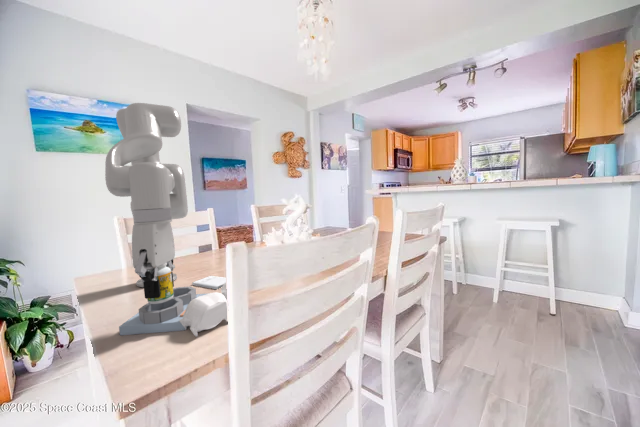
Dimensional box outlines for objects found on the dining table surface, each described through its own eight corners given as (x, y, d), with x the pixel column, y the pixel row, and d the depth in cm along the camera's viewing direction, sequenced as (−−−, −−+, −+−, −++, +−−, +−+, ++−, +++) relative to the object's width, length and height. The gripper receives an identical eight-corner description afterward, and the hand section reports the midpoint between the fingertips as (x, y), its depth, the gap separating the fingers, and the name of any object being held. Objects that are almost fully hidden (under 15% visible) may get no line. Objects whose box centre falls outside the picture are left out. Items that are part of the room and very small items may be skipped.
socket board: (160, 303, 76) (159, 288, 75) (210, 300, 77) (209, 284, 76) (119, 335, 59) (117, 315, 58) (185, 330, 60) (183, 310, 59)
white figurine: (206, 350, 57) (257, 303, 67) (189, 322, 54) (245, 276, 64) (187, 337, 63) (237, 294, 73) (170, 310, 59) (225, 270, 69)
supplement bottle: (173, 293, 67) (170, 256, 66) (173, 300, 62) (170, 260, 61) (148, 299, 64) (144, 259, 63) (146, 306, 59) (142, 264, 59)
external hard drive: (217, 291, 85) (192, 286, 91) (236, 283, 92) (212, 279, 98) (217, 286, 85) (191, 282, 91) (236, 278, 92) (211, 274, 98)
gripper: (156, 215, 70) (162, 282, 71) (109, 221, 53) (119, 309, 54) (185, 213, 70) (191, 280, 72) (148, 219, 53) (157, 306, 55)
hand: (160, 291), depth 63 cm, fingers closed on supplement bottle, 5 cm apart
